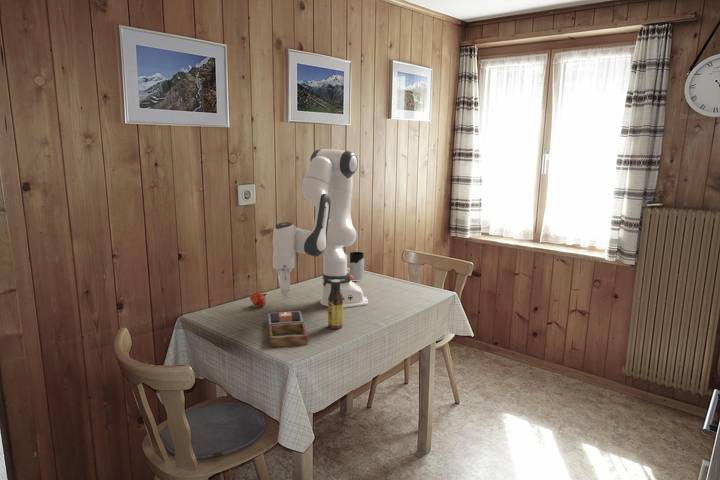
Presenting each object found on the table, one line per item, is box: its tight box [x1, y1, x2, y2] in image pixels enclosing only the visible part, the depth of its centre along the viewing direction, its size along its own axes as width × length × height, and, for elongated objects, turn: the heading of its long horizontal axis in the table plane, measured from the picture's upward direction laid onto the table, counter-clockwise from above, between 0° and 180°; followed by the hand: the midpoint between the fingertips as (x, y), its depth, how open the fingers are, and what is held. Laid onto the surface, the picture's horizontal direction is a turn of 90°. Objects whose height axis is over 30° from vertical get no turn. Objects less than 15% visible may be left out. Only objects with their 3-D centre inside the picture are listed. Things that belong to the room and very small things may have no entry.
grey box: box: [267, 310, 305, 333], centre depth 208 cm, size 14×14×4 cm
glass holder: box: [345, 251, 365, 280], centre depth 279 cm, size 9×14×15 cm, turn 59°
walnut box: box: [268, 322, 308, 348], centre depth 194 cm, size 14×14×4 cm
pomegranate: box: [249, 292, 268, 309], centre depth 231 cm, size 7×7×10 cm
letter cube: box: [278, 311, 293, 323], centre depth 208 cm, size 5×5×5 cm
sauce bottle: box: [327, 279, 344, 330], centre depth 205 cm, size 7×6×20 cm
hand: (283, 296), depth 206 cm, fingers open, 8 cm apart
